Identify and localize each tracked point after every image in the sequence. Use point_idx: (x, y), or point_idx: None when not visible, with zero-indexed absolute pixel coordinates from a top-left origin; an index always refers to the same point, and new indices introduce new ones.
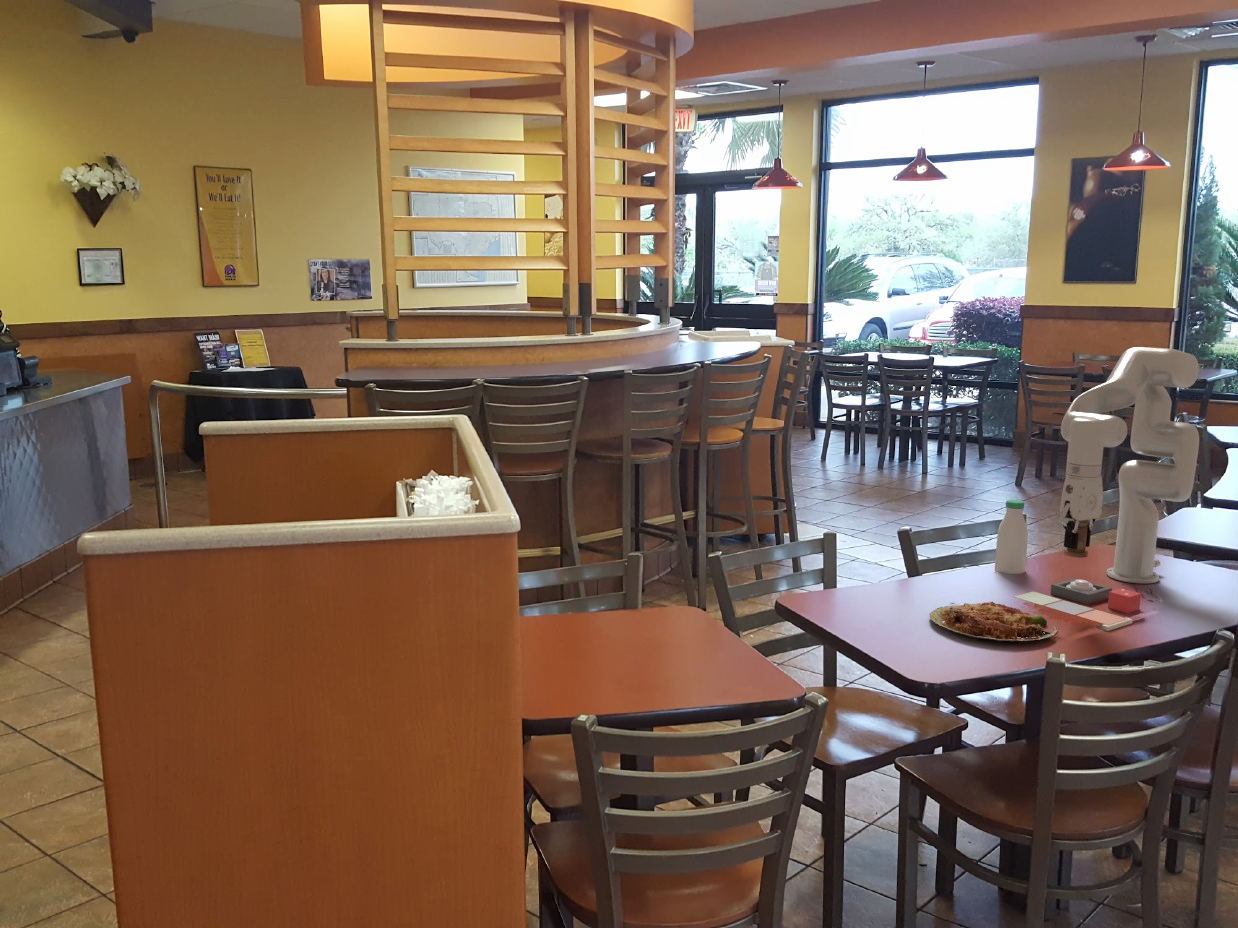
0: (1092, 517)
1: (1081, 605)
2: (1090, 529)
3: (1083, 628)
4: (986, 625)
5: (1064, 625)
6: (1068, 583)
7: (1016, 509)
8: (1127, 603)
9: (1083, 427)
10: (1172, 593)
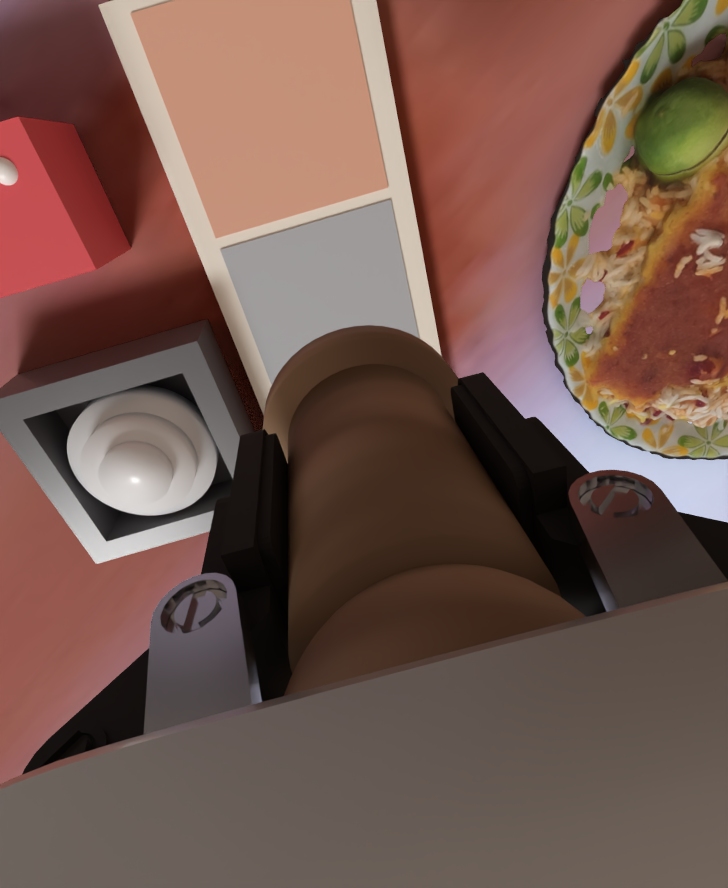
0: (338, 709)
1: (247, 318)
2: (216, 577)
3: (451, 43)
4: None
5: (502, 129)
6: (168, 520)
7: None
8: (43, 127)
9: None
10: None
